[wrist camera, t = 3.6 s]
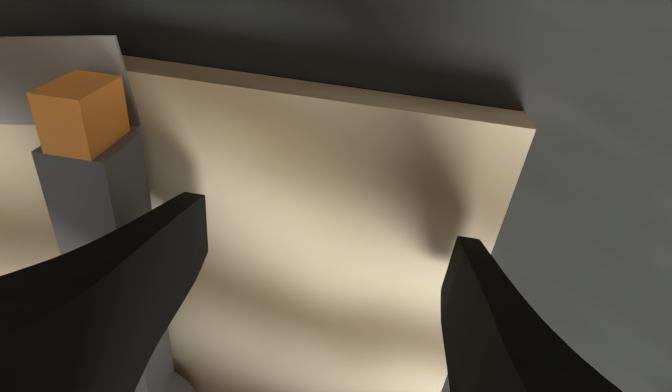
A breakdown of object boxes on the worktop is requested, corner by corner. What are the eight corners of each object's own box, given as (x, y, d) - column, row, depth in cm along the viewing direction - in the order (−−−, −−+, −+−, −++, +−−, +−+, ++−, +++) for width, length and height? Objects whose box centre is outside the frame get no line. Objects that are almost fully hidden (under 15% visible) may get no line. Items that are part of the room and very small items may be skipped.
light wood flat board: (421, 416, 20) (422, 448, 18) (-82, 325, 21) (-111, 350, 20) (536, 79, 12) (550, 97, 11) (-283, -33, 13) (-351, -28, 12)
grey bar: (201, 423, 19) (174, 491, 17) (120, 407, 19) (82, 473, 17) (167, 82, 11) (108, 124, 9) (31, 62, 12) (-61, 99, 9)
